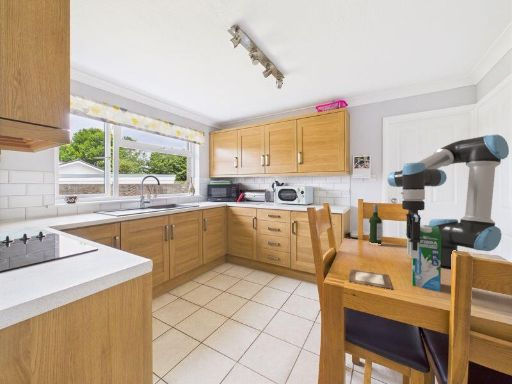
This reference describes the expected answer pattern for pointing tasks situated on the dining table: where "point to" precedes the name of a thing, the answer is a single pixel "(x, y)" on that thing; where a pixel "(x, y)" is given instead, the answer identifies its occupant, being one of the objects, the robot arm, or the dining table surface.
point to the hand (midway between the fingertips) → (412, 255)
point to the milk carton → (428, 259)
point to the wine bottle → (375, 227)
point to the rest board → (370, 279)
